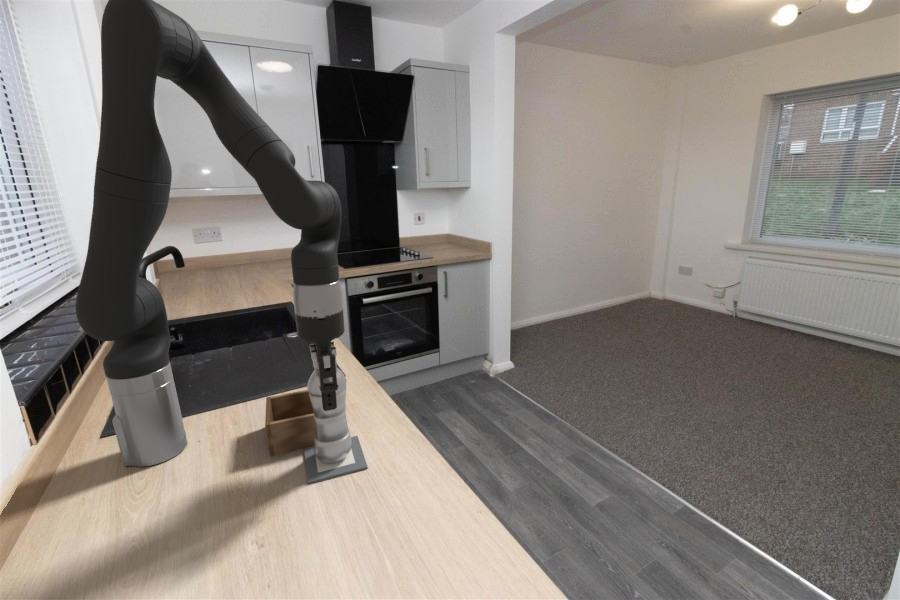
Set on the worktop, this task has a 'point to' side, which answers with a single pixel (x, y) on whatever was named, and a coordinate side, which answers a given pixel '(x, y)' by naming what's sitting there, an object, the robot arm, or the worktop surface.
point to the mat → (330, 470)
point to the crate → (289, 422)
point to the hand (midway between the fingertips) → (327, 397)
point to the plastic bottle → (330, 421)
